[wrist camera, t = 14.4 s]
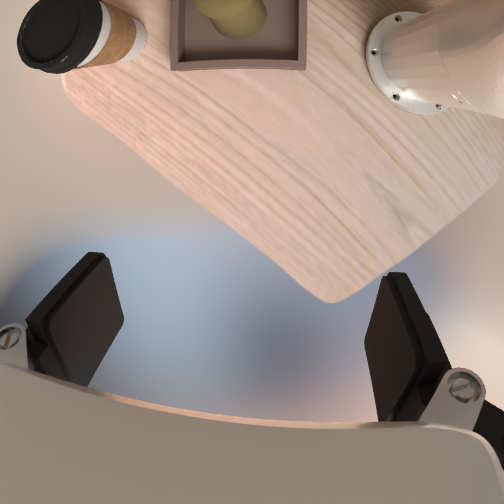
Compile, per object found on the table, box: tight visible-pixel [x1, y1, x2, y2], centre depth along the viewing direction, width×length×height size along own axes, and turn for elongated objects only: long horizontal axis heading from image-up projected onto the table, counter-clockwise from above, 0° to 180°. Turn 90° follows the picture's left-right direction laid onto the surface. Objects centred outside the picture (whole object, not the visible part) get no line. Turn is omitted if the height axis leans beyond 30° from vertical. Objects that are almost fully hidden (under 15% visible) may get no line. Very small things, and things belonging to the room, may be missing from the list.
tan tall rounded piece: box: [192, 0, 267, 39], centre depth 23 cm, size 6×6×11 cm
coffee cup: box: [17, 0, 147, 74], centre depth 23 cm, size 8×8×15 cm
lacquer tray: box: [171, 0, 307, 71], centre depth 27 cm, size 14×12×3 cm
